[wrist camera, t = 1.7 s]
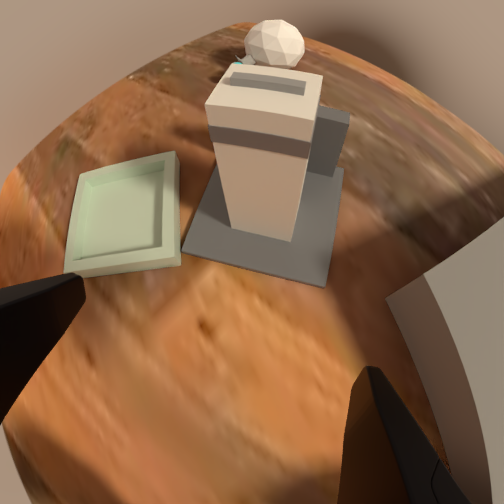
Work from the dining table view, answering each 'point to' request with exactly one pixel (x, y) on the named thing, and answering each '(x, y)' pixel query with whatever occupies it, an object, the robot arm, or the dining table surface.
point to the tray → (126, 218)
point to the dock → (306, 225)
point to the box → (462, 358)
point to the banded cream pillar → (263, 144)
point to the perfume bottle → (273, 45)
